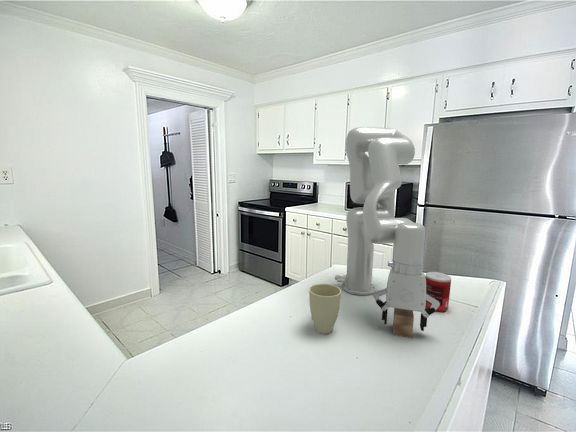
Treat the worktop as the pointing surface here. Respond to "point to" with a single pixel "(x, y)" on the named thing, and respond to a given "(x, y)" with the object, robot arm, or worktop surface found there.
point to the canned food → (438, 289)
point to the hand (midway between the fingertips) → (403, 325)
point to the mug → (324, 306)
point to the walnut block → (403, 322)
